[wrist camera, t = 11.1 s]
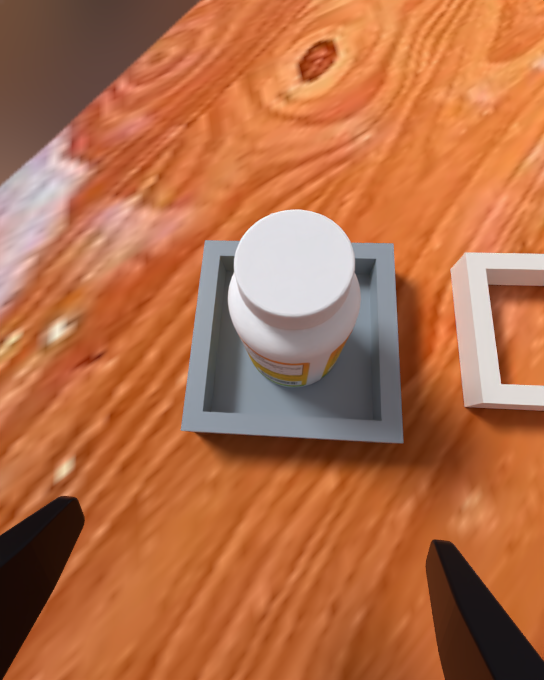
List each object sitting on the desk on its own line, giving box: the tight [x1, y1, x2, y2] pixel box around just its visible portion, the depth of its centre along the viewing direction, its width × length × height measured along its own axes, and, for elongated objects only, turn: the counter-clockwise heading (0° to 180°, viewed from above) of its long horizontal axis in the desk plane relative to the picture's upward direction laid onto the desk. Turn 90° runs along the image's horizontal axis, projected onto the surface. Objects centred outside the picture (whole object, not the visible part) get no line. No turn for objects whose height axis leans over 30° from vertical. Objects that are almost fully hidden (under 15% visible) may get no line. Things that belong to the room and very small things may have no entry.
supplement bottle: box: [228, 210, 361, 387], centre depth 16 cm, size 5×5×10 cm
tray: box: [181, 240, 403, 443], centre depth 20 cm, size 11×11×2 cm
